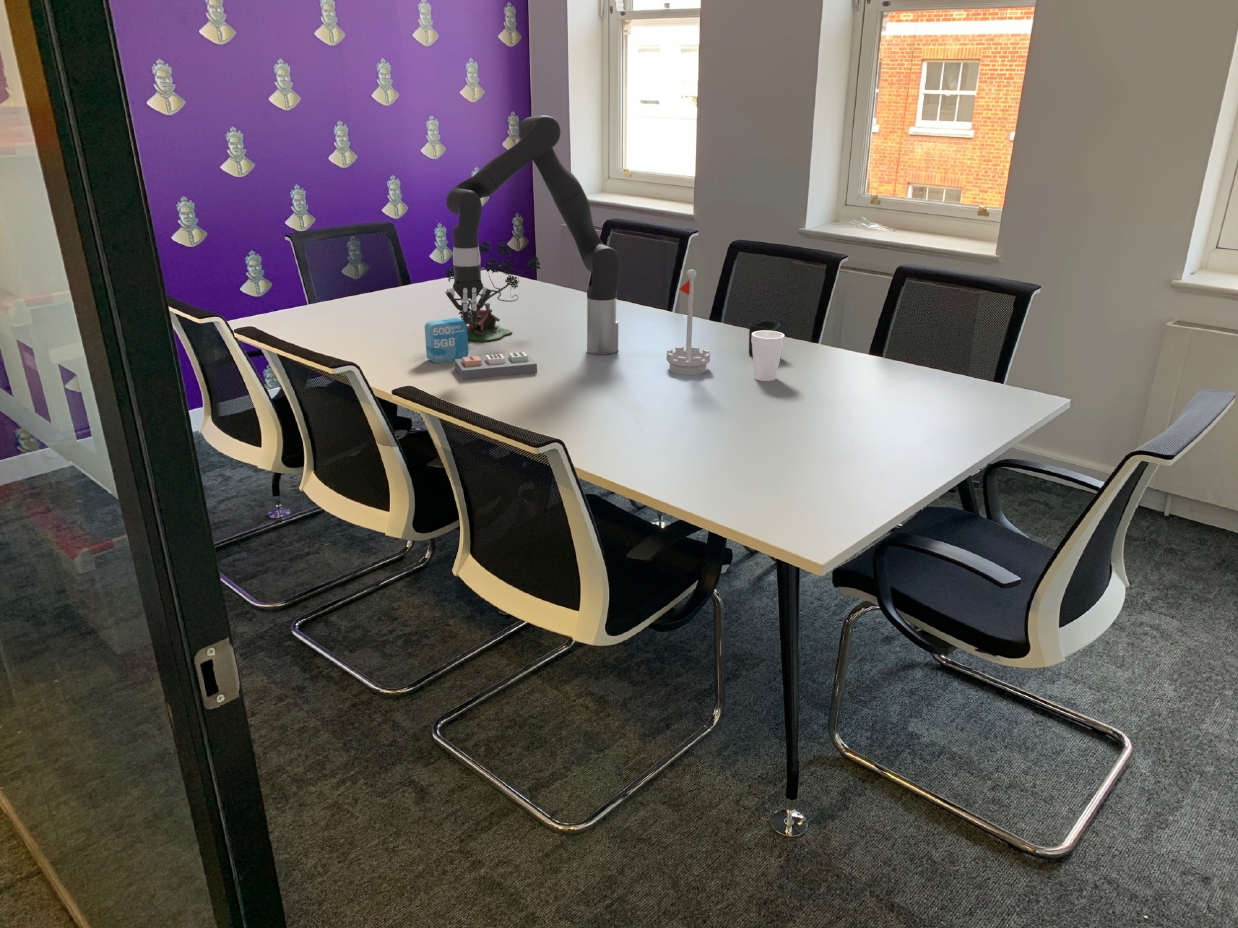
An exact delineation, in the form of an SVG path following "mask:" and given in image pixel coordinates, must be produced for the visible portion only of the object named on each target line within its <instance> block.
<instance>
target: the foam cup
mask: <svg viewBox="0 0 1238 928" xmlns="http://www.w3.org/2000/svg"><path fill="white" fill-rule="evenodd" d="M751 343H752V352H753V357H752V365H753V376H754V377H753V378H754V380H757V381H762V382H772V381H775V380H776V378H777V374H778V370H779V366H780V361H781V356H782V350H783V345H784V344H785V334H784V333H783V332H780V331H779V332H777V331H768V330H762V331H755V332H753V333H752V338H751Z"/></svg>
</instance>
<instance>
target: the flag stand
mask: <svg viewBox="0 0 1238 928" xmlns="http://www.w3.org/2000/svg"><path fill="white" fill-rule="evenodd" d="M697 276H698V274H697V271H696V270H695V269H692V268H691V269H689V270H687V272H686V277H687V279H688V281H686V282H685V283H684V284H683V285H682V286H681V287H680V288H679V289H678V290H679V291H680V292H682V293H684V294H686V295H687V319H686V345H685V346H676V347H675V350H673V349H672V348H669V349H667V350H666V361H667V362H668V363H669V371H670V372H672V373H673V374H679V375H685V376H686V375H687V376H693V375H694V376H695V375H701V374H704V373H705V372H706V371H707V365H708V364H709V363H710V361H711V353H710V350H709V349H702V351H701V350H700V347H697V346H692V338H693V337H692V335H693V315H694V311H693V309H694V292H695V291H694V290H695V287H694V286H695V278H697ZM684 347H685V348H684Z"/></svg>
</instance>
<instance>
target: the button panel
mask: <svg viewBox="0 0 1238 928" xmlns="http://www.w3.org/2000/svg"><path fill="white" fill-rule="evenodd" d="M525 353H526V354H527V355H528V361H523V362H511V361H510V360H509V354H502V355H503V357H504V358H505V363H501V364H490V365H489V364H488V363H487V362H486V356H478V357H479V358H480V359H481V365H479V366H468V367H465V366H464V365H463V362H462V359H454V370H455V371H456V373H457V374H458V375H459V377H460V379H461V380H462V381H470V380H471V381H472V380H483V379H484V380H485V379H493V378H494V379H495V378H503V377H504V378H505V377H514V376H515V377H516V376H523V375H524V376H525V375H535V374H538V364H537V362H536V361H535V360H534V359H533V358H532V357H531V356H530V355H529V354H528V353H527V352H525Z"/></svg>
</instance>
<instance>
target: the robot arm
mask: <svg viewBox="0 0 1238 928" xmlns="http://www.w3.org/2000/svg"><path fill="white" fill-rule="evenodd" d="M518 134H519V135H518V136H519V139H520V140H519V141H518V142H517V143H515V144H514V145H513V146H512V147H509V149H506V150H504V152H501V153H500V154H498V155H497V156H495V157H494V158H493V159H491V160H490V161H488V162H487V163H486V164H485V165H483V166H482V167H481V168H480V169H479V170H478V171H477V172H476V173H475V174H474V175H473V176H471V177H469V178H466V179H465V180H463V181H462V182H460V183H459V184H457V185H456V186H454V187H453V188H452V189H451V190H450V191H449V193H448V194H447V197H446V201H445V203H446V204H445V205H446V207H447V209H448V211H450V212H451V213H452V214H454V215H459V216H458V217H459V218H458V224H456V225H454V226H453V228H452V244H453V245H452V246H453V247H452V263H453V265H452V267H453V268H454V269H453V270H454V276H453V277H454V279H453V281H454V282H453V285H452V288H449V290H448V291H447V290H446V291H445V295H446V297H447V298H448V299H449V300H450V301H451V303H452V304H453V306H454V307H455V308H456V310H458V311H460V310H462V314H461V315H462V316H463V318H462V320H463V321H464V322H465V323H466V324H467V325H469V315H468V311H467V305H468V301H467V299H468V300H470V302H471V304H470V309H471V310H470V312H471V323H472V324H475V322H476V321H477V310H478V309H480V308H481V309H483V307H485V306H484V304H485V303H486V302H487V301H488V300H489V299H488V297H489V295H491V294H492V292H491V290H492V289H490V288H488V287H486V286H484V283H483V282H482V270H481V252H480V251H479V250H480V246H479V233H478V232H479V227H480V224H481V217H482V211H483V206H482V200H481V199H482V198H487V197H491V196H492V195H493V194H495V193H496V192H497V191H498V190H499V189H501V187H503V185H505V183H507V182H508V181H509V180H510V179H511V178H512V177H513V176H514V175H515V174H517V173H518V172H519V171H520V170H521V169H523V168H524V167H525V166H526V165H528V164H529V163H531V162H533V163H534V165H535V166H536V168H537V170H538V171H539V173H540V175H541V177H542V180H543V182H544V183H545V186H546V187H547V189H548V191H549V193H550V195H551V197H552V199H553V202H554V204H555V205H556V207H557V210H558V212H559V214H560V215H561V218H562V219H563V221H564V223H565V225H566V227H567V229H568V231H570V233H571V234H570V235H571V236H572V237H573V239H574V242H575V244H576V247H577V250H578V252H579V255H580V258H581V260H582V262H583V266H584V267H585V269H586V270H588V271H589V272H590V273H591V285H590V286H589V287H588V288H587V290H586V351H587V352H588V353H590V354H593V355H610V354H614V353H618V352H619V322H618V321H617V295H618V290H619V288H620V276H621V274H620V273H621V259H620V256H619V253H618V252H617V250H615V249H614V248H612V247H610V246H607V245H606V244H604V242H603V241H602V239H601V238H600V236H599V234H598V233H597V231H596V229H595V227H594V223H593V219H592V210H591V204H590V202H589V198H588V196H587V195H586V192H585V190H584V189H583V186H582V184H581V183H580V181H579V180H578V178H576V176H575V175H574V174H573V173H572V172H571V171H570V169H569V168H568V167H566V166H565V164H563V162H562V161H561V160H560V159H559V156H557V154H556V152H555V149H554V147H555V146H556V145H557V144H558V142H559V140H560V138H561V127H560V124H559V122H558V121H557V120H556V119H555V118H554V117H552V116H549V115H535V116H529V117H526V118H524V119H522V121H521V122H520V125H519V128H518ZM455 293H456V294H457V295H458V296H459V297H460V299H461V300H460V302H461V303H460V304H459V302H458V300H455V298H456V297H455V296H456V294H455ZM481 293H482V296H480V295H479V294H481ZM478 296H480V298H479V299H478V300H477V297H478ZM487 299H488V300H487ZM486 300H487V301H486ZM481 309H480V310H481Z"/></svg>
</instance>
